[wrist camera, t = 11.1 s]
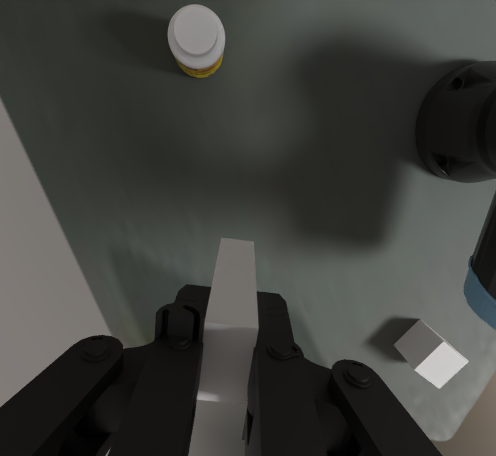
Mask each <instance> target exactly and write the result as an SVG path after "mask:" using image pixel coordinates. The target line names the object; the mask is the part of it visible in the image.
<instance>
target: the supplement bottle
mask: <svg viewBox="0 0 496 456" xmlns="http://www.w3.org/2000/svg"><path fill="white" fill-rule="evenodd" d="M168 42H169V46H170V49H171V51H172V53H173V55H174V57H175V59H176V61H177V62H178V64H179V66H180V68H181V69H182V70H183V71H184V72H185V73H186V74H188V75H189V76H191V77H194V78H207V77H209V76H211V75H213V74H214V73H215V72H216V71H217V70H218V69H219V67H220V65H221V63H222V59H223V52H224V47H225V32H224V28H223V25H222V23H221V21H220V19H219V18H218V16H217V15H216V14H215V13H214V12H213V11H212V10H210V9H209V8H207V7H205V6H202V5H197V4H192V5H187V6H184V7H182V8H181V9H179V10H178V11H177V12H176V13H175V14H174V15H173V17H172V19H171V21H170V23H169V27H168Z"/></svg>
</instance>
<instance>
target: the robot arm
mask: <svg viewBox="0 0 496 456" xmlns="http://www.w3.org/2000/svg"><path fill="white" fill-rule="evenodd" d="M416 143H417V148H418V151H419V154H420V157H421V159H422V160H423V162H424V163H425V165H426V166H427V167H428V168H429V169H430V170H431V171H432V172H433V173H435V174H436V175H438V176H440V177H442V178H444V179H448V180H452V181H457V182H463V183H475V182H481V181H486V180H491V179H495V178H496V61H483V62H478V63H474V64H470V65H466V66H463V67H460V68H458V69H456V70H454V71H452V72H450V73H449V74H447V75H446V76H445V77H443V78H442V79H441V80H440V81H439V82H438V83H437V84H436V85H435V86H434V87H433V88H432V90H431V91H430V92H429V94H428V95H427V97H426V99H425V100H424V102H423V104H422V107H421V109H420V112H419V115H418V119H417V124H416ZM468 266H469V270H468V273H467V277H466V280H465V284H464V295H465V297H466V299H467V303H468V304H469V306H470V307H471V309H472V310H473V311H474V312H475V313H476V314H477V315H478V316H479V317H480V318H481V319H482V320H483V321H484V322H485V323H487V324H488V325H489V326H491V327H492V328H493V329H495V330H496V191H495V194H494V197H493V200H492V203H491V205H490V208H489V211H488V214H487V217H486V219H485V222H484V225H483V228H482V231H481V234H480V236H479V239H478V242H477V245H476V248H475V250H474V253H473V255H472V256H471V257H470V259H469V263H468ZM247 395H248V406H247V412H246V418H245V424H244V430H243V436H242V440H245V456H442V455H441V453H440V452H439V451H438V450H437V448H436V447H435V446H434V445H433V443H432V442H431V441H430V440H429V438H428V437H427V436H426V435H425V433H424V432H423V431H422V429H421V428H420V427H419V426H418V424H417V423H416V422H415V421H414V419H413V418H412V417H411V416H410V414H409V413H408V412H407V411H406V409H405V408H404V407H403V406H402V404H401V403H400V402H399V401H398V399H397V398H396V397H395V396H394V394H393V393H392V392H391V391H390V389H389V388H388V387H387V385H386V384H385V383H384V382H383V380H382V379H381V378H380V377H379V375H378V374H377V373H376V372H374V371H373V370H372V369H371V368H370V367H368V366H366V365H365V364H363V363H360V362H357V361H354V360H345V359H344V360H340V361H337V362H336V363H335V364H334V365H333V366H332V369H329V368H326V367H323V366H320V365H317V364H315V363H313V362H310V361H309V360H307V359H306V358H304V354H303V352H302V350H301V348H300V347H299V346H298V345H297V344H296V343H295V342H294V338H293V333H292V328H291V324H290V319H289V314H288V309H287V305H286V301H285V300H284V299H283V298H282V297H281V296H280V294H276V293H267V292H258V291H257V290H256V273H255V255H254V242H252V241H244V240H235V239H227V238H221V243H220V248H219V253H218V257H217V262H216V267H215V272H214V277H213V282H212V287H206V286H197V285H188V284H187V285H185V286H184V287H183V288H181V289H180V290H179V291H178V294H177V296H176V300H175V302H174V303H171V304H167V305H165V306H163V307H161V308H160V309H159V310H158V311H157V312H156V324H155V339H154V341H153V342H152V343H150V344H147V345H144V346H140V347H134V348H125V349H123V345H122V343H121V342H120V341H119V340H118V339H116V338H114V337H112V336H105V335H98V336H91V337H88V338H85V339H82V340H80V341H79V342H77V343H76V344H74V345H73V346H72V347H70V348H69V349H68V350H67V351H66V352H64V353H63V354H62V355H61V356H60V357H59V358H57V359H56V360H55V361H54V362H53V363H52V364H50V365H49V366H48V367H47V368H46V369H45V370H43V371H42V372H41V373H40V374H39V375H38V376H36V377H35V378H34V379H33V380H32V381H31V382H29V383H28V384H27V385H26V386H25V387H24V388H22V389H21V390H20V391H19V392H18V393H17V394H15V395H14V396H13V397H12V398H11V399H10V400H9V401H7V402H6V403H5V404H4V405H3V406H1V407H0V456H105V455H106V454H107V452H108V451H109V449H110V448H111V449H110V451H109V454H108V456H188V454H189V448H190V442H191V435H192V430H193V424H194V418H195V410H196V401H197V400H207V401H217V402H227V403H237V404H246V401H247Z"/></svg>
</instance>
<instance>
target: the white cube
mask: <svg viewBox="0 0 496 456" xmlns="http://www.w3.org/2000/svg"><path fill="white" fill-rule="evenodd" d="M394 346H395V347H396V349H397V350H398V351H399V352H400V353H401V355H402V356H403V357H404V358H405V359H406V361H407V362H408V363H409V364H410V365H411V367H412V368H413V369H414V370H415V371H416V372H418V373H419V374H420V375H422V376H423V377H424V378H426V379H427V380H428V381H430V382H431V383H432V384H434V385H435V386H436V387H438V388H439V389H440V388H441V387H442V386H443V385H444V384H445V383H446V382H447V381H448V380H449V379H451V378H452V377H453V376H454V375H455V374H456V373H457V372H458V371H459V370H460V369H461V368H462V367H463V366H464V365H465V364H467V363H468V362H469V361H468V360H467V359H465V358H464V357H463V356H462V355H461V354H460V353H459V352H458V351H457V350H456V349H454V348H453V347H452V346H451V345H450V344H449V343H448V342H447V341H446V340H445V339H443V338H442V337H441V336H440V335H439V334H437V333H436V332H435V331H434V330H433V329H431V328H430V327H429V326H428V325H426V324H425V323H424V322H423V321H422V320H420V319H419V320H418V321H417V322H416V323H415V324H414V325H413V326H412V327H411V328H410V329H409V330H408V331H407V332H406V333H405V334H404V335H403V336H402V337H401V338H400V339H399V340H398V341H397V342H396V343H395V344H394Z"/></svg>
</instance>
